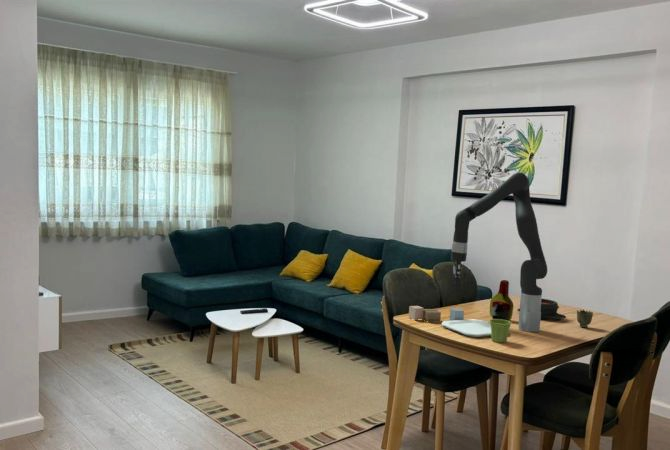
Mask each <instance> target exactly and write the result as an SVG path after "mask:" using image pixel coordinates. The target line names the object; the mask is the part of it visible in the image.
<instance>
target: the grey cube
mask: <svg viewBox="0 0 670 450" xmlns="http://www.w3.org/2000/svg"><path fill="white" fill-rule="evenodd" d="M464 315H465V310H464V309H462V308H450V310H449V321H453V320H465V317H464Z"/></svg>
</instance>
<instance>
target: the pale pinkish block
mask: <svg viewBox="0 0 670 450" xmlns="http://www.w3.org/2000/svg"><path fill="white" fill-rule="evenodd" d="M424 309H425V308H424V307H422V306H419V305H409V307H408V319H409V318H411V319H410V320H412V319H414V320H417V321H419V320H418V319H423V313H424ZM414 320H413V321H414Z"/></svg>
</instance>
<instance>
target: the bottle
mask: <svg viewBox="0 0 670 450" xmlns="http://www.w3.org/2000/svg"><path fill="white" fill-rule="evenodd" d="M509 285H510V281H508V280H507V279H502V280H500V282H499V287H498V288H499V289H498V291H497V293H496V294H495V295H493V296H492V297H491V298H490V302H489V315H490V316H491V319H502V320H507V321H511V320H512V317H513V313H514V303H513V300H512V299H511V297H510V295H509V288H510V286H509Z"/></svg>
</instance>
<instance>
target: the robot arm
mask: <svg viewBox="0 0 670 450" xmlns="http://www.w3.org/2000/svg"><path fill="white" fill-rule="evenodd" d="M510 195H512V197H513V201H514V204H515V223H516V230H517V233H518V236H519V238H520V239H521V241H522V243H523V244H524V246H525V247H526V249H527V251H528V253H529V254H528V255H529V257H530V259H526V260H524V261H523V262H522V264H521V267H520V273H519V274H520V277H519V280H520V281H519V285H520V289H521V292H520V293H521V294H520V301H519V302H520V304H519V308H520V312H519V313H518V314H519V317H518V327H517V328H518V329H519V330H521V331H525V332H527V333H528V332H529V333H536V332H537V333H539V332H540V331H541V320H542V319H541V312H540V309H541V299H542V296H543V290H542V288H541V287H539V286H538V284H537V280H542V279H545V277H546V276H547V274H548V264H547V261H546V258H545V255H544V252H543V247H542V242H541V240H540V238H541V237H540V234H539V230H538V229H539V227H538V222H537V218H536V215H535V214H536V213H535V211H534V208H533V205H532V201H531V194H530V181H529V178H528V176H527V175H526V174H525V173H523V172H516V173H513V174H512V175H510V176H509V178H507V179H506V180H505V181H503V183H502V184H500V185H499V186H497V187H496V188H495V189H494V190H492V191H491V192H489V193H488V194H486V195H484V196H483V197H481V198H480V199H478V200H476V201H475V202H473V203H472V204H471V205H469V206H467V207H465V208H464V209H462V210H460V211H458V212H457V213H456V215H455V218H454V232H453V238H452V240H453V241H452V244H451V251H450V252H451V253H450V260H451V261H453V266H452V273H453V277H452V282H454V283H453V284H454V285H456V286H459V285H460V278H461V277H462V269H463V264H462V262H463V263H465V262H466V261H467V255H468V241H469V227H470V222H471V221H473V220H474V219H476V218H478V217H480V216H482V215H484V214H485V213H488V212H489V211H490V210H492V209H493V208H494V207H495V206H497V205H498V204H499V203H501V202H502V201H503V200H504V199H505V198H508V197H509V196H510Z"/></svg>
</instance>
